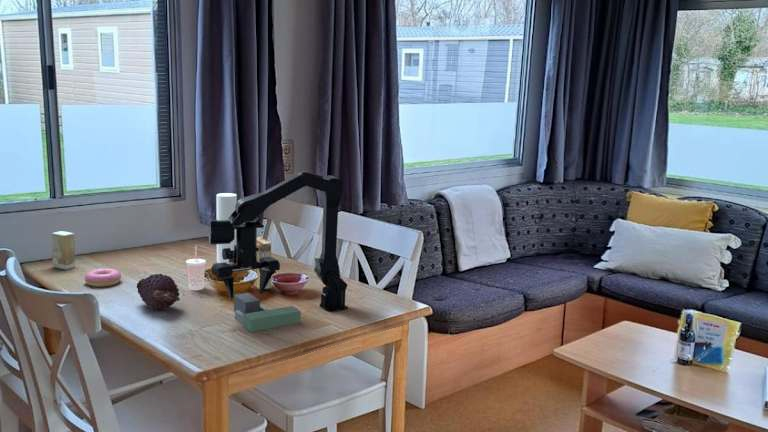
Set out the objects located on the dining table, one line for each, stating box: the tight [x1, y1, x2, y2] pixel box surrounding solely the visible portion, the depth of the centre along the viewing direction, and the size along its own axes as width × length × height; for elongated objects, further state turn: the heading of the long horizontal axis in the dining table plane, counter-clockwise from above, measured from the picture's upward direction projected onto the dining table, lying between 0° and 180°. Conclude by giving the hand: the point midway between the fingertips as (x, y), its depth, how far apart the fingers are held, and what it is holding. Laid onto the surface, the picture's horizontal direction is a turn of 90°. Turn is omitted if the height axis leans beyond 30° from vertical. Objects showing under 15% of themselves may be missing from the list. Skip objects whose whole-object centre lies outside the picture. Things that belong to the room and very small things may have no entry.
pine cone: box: [136, 273, 181, 310], centre depth 195 cm, size 18×10×10 cm, turn 53°
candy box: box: [251, 237, 272, 290], centre depth 220 cm, size 9×4×15 cm, turn 33°
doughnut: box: [84, 268, 122, 288], centre depth 217 cm, size 11×11×4 cm
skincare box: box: [51, 230, 76, 270], centre depth 231 cm, size 6×4×12 cm
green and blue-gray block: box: [234, 305, 302, 333], centre depth 189 cm, size 15×12×4 cm
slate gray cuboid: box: [233, 292, 261, 314], centre depth 194 cm, size 4×8×5 cm, turn 35°
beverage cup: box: [185, 245, 207, 291], centre depth 214 cm, size 6×6×14 cm
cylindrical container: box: [216, 192, 238, 265], centre depth 246 cm, size 7×7×25 cm
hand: (246, 295), depth 193 cm, fingers open, 9 cm apart
